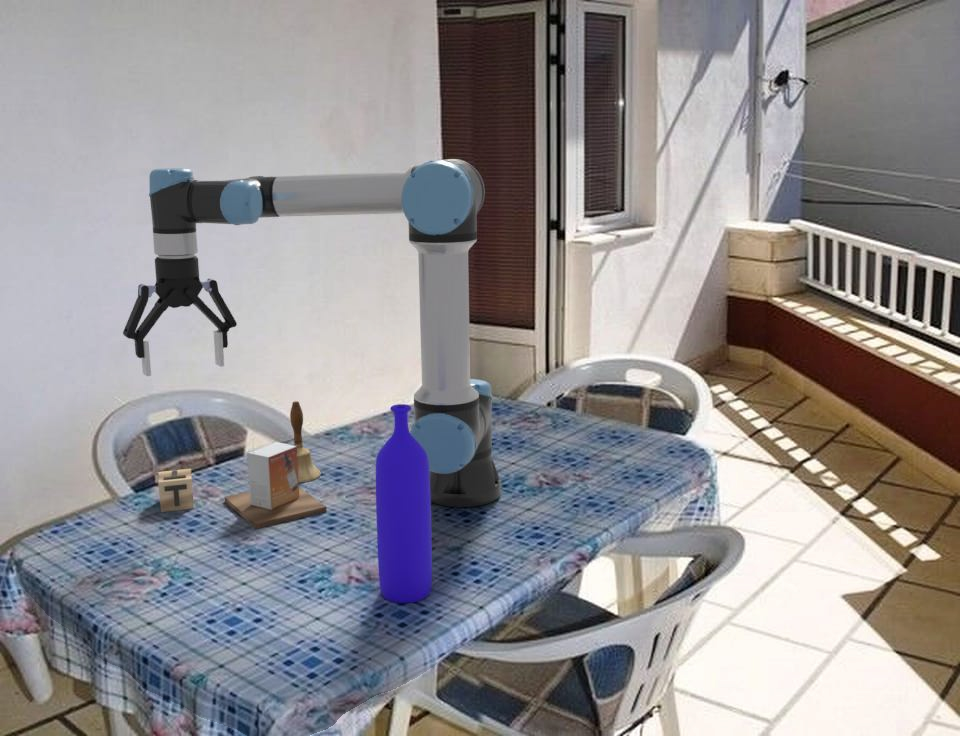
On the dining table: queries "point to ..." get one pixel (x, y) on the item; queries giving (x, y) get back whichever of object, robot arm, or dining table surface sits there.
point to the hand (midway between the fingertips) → (184, 369)
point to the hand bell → (304, 458)
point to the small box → (273, 475)
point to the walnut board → (275, 509)
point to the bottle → (403, 515)
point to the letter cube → (175, 490)
